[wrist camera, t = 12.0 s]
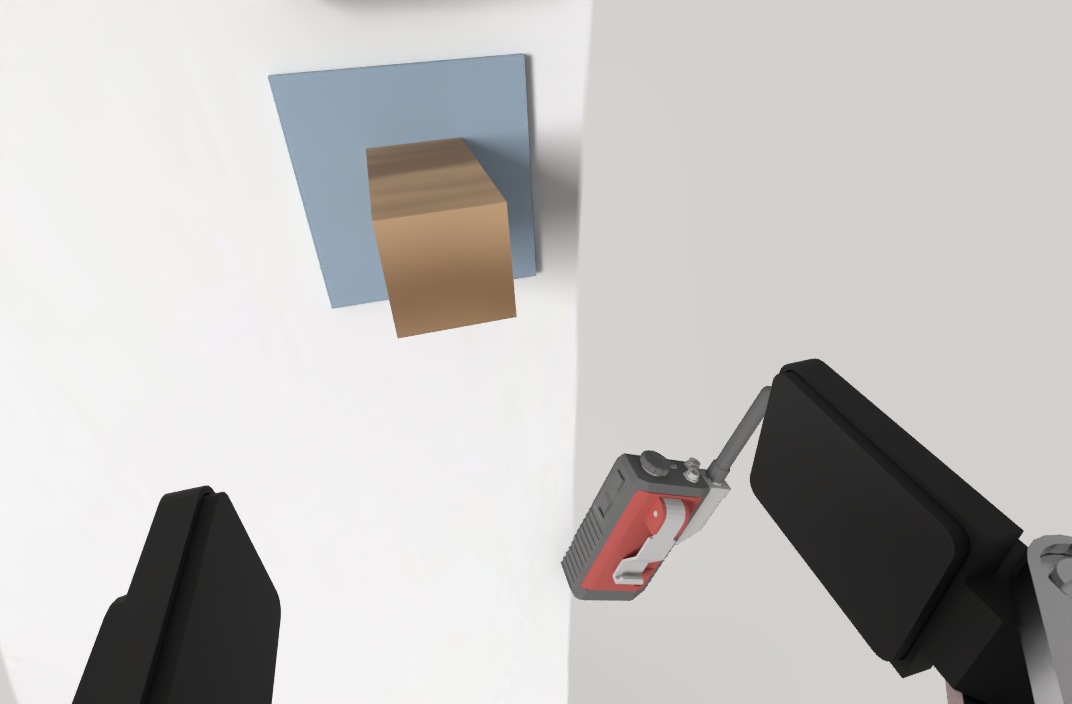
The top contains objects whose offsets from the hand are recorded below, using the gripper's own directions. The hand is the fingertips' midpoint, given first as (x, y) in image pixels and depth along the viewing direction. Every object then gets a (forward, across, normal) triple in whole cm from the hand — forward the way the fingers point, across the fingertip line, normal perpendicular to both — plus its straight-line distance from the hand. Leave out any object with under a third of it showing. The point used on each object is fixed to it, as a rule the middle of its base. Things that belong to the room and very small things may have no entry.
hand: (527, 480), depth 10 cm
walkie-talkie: (+19, -13, +24) cm, 33 cm away
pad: (+19, 0, +1) cm, 19 cm away
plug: (+19, 0, +1) cm, 19 cm away
